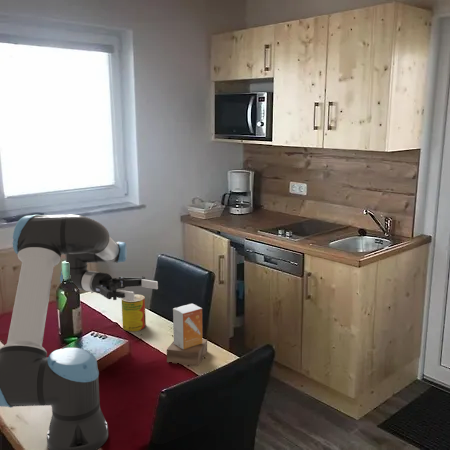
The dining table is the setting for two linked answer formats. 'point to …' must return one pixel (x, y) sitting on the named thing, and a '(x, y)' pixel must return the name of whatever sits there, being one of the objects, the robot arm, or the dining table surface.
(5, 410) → the dining table surface
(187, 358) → the walnut block
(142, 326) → the yellow food can
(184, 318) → the small box
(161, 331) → the dining table surface
